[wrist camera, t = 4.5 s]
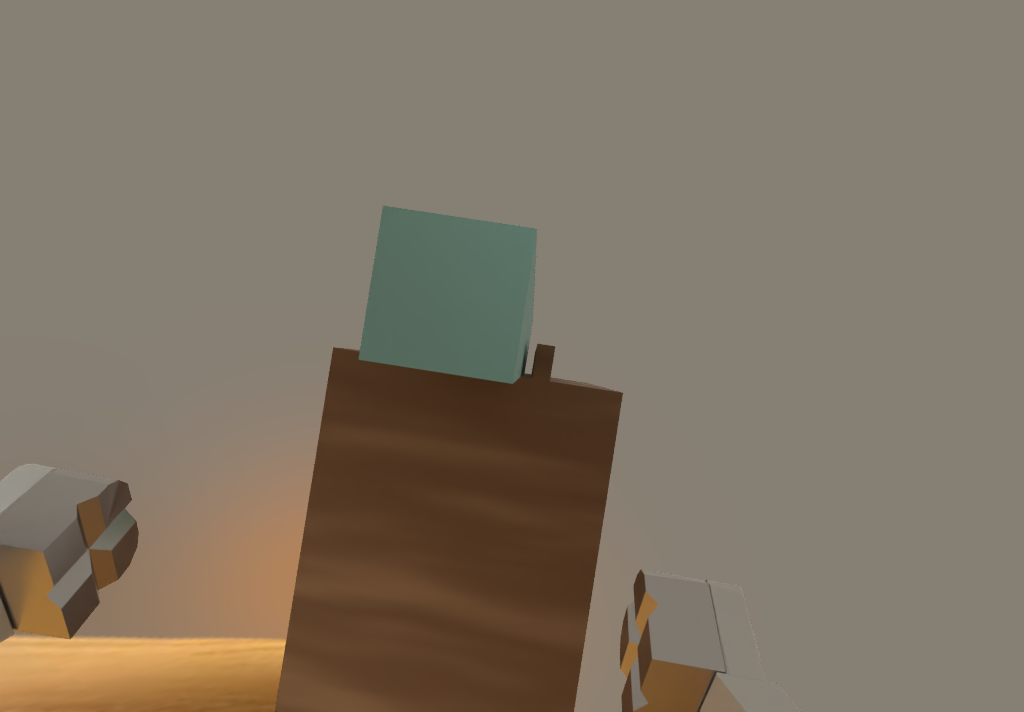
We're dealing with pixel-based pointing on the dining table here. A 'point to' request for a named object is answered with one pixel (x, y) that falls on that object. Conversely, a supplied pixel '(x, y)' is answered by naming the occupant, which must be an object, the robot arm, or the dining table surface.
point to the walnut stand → (448, 541)
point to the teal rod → (451, 295)
